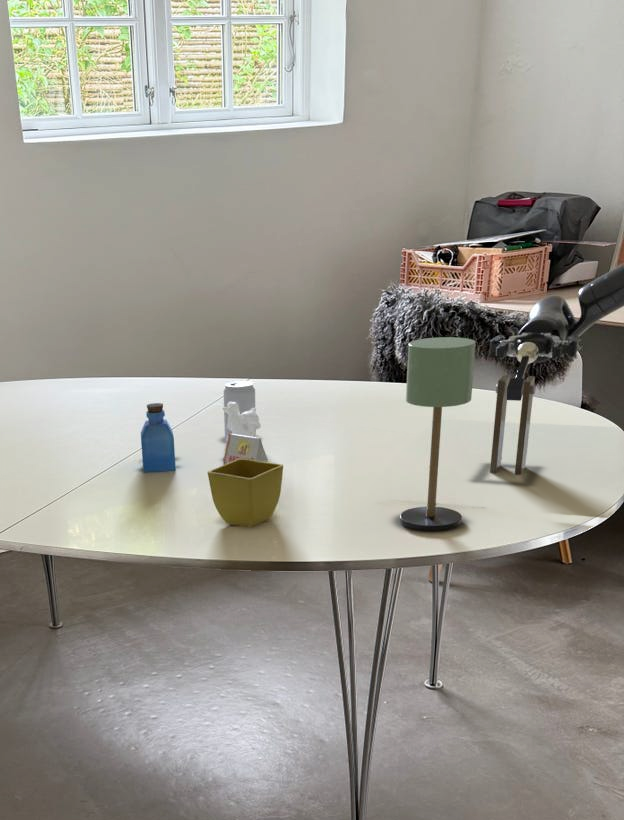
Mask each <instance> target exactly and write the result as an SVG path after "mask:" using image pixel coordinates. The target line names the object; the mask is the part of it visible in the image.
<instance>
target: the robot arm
mask: <svg viewBox="0 0 624 820" xmlns="http://www.w3.org/2000/svg"><path fill="white" fill-rule="evenodd" d="M577 298H578V304H579V308H580V317H579V319H578V320H577V319H576V317H575V315H574V313H573V312H572V309H571V308H570V305H569V304H568V302H567V301H566V299H565V298H564V297H563V296H561V295H558V294H552V295H548V296H544V298H542V299H540V300H539V301H537V302H536V303H535V304H534V305H533V306H532V308H531V309H530V311H529V313H528V316H527V322H526V324H524V325H523V326H522V327H521V329H520V330H519V331H518V334H516V335H511V336H509V337H508V339H506V337H505V336H504V335H503V334H499V335H497V336H495V337H493V338H492V339H490V340H489V352H488V355H489V356H493V357H494V356H496V357H498V359H499V360H504V359H505V358H506V357H512V358H517V357H516V352H517V349H518V347H519V346H520V345H521V344H523V343H525V342H532V343H534V344H536V345H537V347H538V349H539V355H538V357H537V359H536V360H535V361H534V362H533V363H543V362H546V361H548V360H550V359H551V361H557V359H559V358H563V357H564V356H565V355H567V356H568V357H569V358H573V357H576V355H577V353H578V346H579V339H580V337H581V336H582V335H583V334H584V333H586V331H588V330H589V328H591V327H592V326H593V325H594V324H596V323H597V322H599V321H600V320H601V319H603V318H605V317H606V316H609V315H611V314H613V313H614V312H616V311H618V310H620V309H622V308H623V307H624V262H622V263H621V264H619V265H618V266H615V268H612V269H611V270H609V271H607V272H606V273H604V274H603V275H601V276H599V277H597V278H595V279H594V280H592V281H590V282H589V283H587V284H584V285H583V286H582V287H581V288H580V289H579V291H578V294H577Z"/></svg>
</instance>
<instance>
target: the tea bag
mask: <svg viewBox="0 0 624 820" xmlns="http://www.w3.org/2000/svg"><path fill="white" fill-rule="evenodd" d="M225 447H226V448H225V452H224V454H223V455H224V456H223V465H225V464H228V463H230V462H232V461H235V460H237V459H248V460H254V461H260V462H268V463H269V461H268V460H269V459H268V457H267V454H266V452H265V448H264V445H263V441H262V438H261V437H257V436H256V437H250V436H243V435H237V434H229V436H228V442H227V441H226V446H225Z"/></svg>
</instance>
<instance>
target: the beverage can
mask: <svg viewBox="0 0 624 820" xmlns="http://www.w3.org/2000/svg"><path fill="white" fill-rule="evenodd" d="M224 386H225V388H224V389H223V408H224V407H227V404H228V402H230V401H231V402H236V403H238V406H239V411H240V415H241V414H242V413H243V412H246V411H250V410H251V409H252V408H256V388H255V387H254V383H253V382H252V381H246V380H239V381H231V382H227V383H225V385H224ZM227 408H228V407H227ZM228 416H229V415H228V413H226V412H225V411H224V410H223V417H224V440H225V442H227V436H228V435H229V434H232V431H231V430H229V429H228V428H227V423H228ZM254 431H255V434H254V436H253V437H256V438H257V429H256V430H254Z"/></svg>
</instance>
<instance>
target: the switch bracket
mask: <svg viewBox="0 0 624 820" xmlns="http://www.w3.org/2000/svg"><path fill="white" fill-rule="evenodd" d="M535 380H536V376H535V375H528V376H527V377H526V378H525V379H524V388H523V395H522V398H521V408H520V409H521V410H520V417H519V427H518V428H519V429H518V437H517V438H518V439H517V447H516V456H515V459H516V460H515V467H514V475H522V473H523V472H524V470H525V468H526V464H527V463H526V462H527V453H528V446H529V445H528V443H529V437H530V436H529V435H530V427H531V419H532V418H531V417H532V416H531V415H532V409H533V399H534V395H535V393H536V388H537V386H536V385H535ZM509 381H510V375H507V374H504V375H502V376H501V377H500V378H499V379H498V381H497V384H496V387H495V394H496V400H495V401H496V402H495V412H494V423H493V424H494V425H493V435H492V444H491V455H490V459H491V460H490V466H489V469H490V470H489V473H490V474H491V473H492V474H496V473H497V472H498V471H499V469H500V468H501V466H502V459H503V457H502V456H503V447H504V436H505V427H506V426H505V425H506V415H507V405H508V400H507V387H508V384H509Z"/></svg>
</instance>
